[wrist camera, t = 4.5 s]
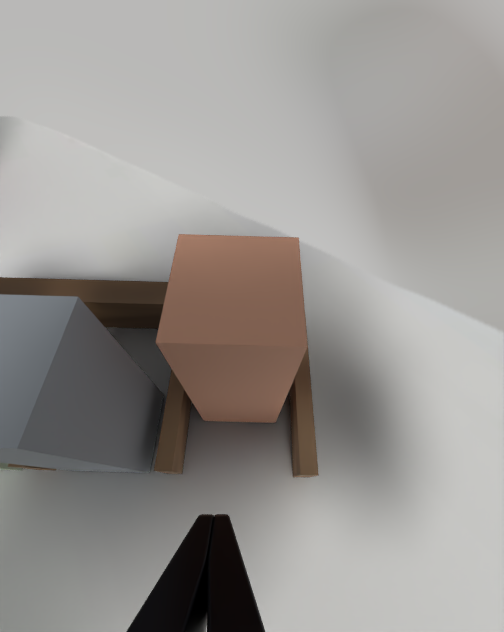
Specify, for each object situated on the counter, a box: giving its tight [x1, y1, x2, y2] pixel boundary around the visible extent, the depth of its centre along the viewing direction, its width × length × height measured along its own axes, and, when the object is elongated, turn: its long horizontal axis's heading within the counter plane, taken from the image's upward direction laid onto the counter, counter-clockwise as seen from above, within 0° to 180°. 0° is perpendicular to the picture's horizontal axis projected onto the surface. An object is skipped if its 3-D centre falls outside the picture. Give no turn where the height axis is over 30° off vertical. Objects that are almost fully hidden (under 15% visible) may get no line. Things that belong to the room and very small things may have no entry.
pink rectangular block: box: [155, 234, 308, 423], centre depth 13 cm, size 4×4×10 cm
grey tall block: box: [0, 294, 164, 473], centre depth 12 cm, size 4×4×10 cm
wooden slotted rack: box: [0, 277, 318, 477], centre depth 16 cm, size 10×20×3 cm, turn 89°
